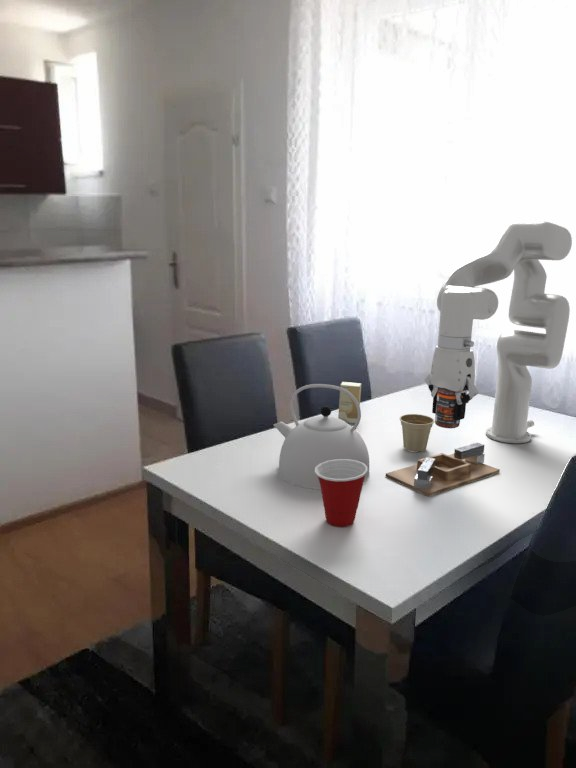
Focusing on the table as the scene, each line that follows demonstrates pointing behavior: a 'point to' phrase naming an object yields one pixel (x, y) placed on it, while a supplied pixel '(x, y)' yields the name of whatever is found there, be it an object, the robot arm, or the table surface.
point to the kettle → (318, 443)
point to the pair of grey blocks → (468, 453)
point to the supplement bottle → (446, 409)
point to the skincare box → (349, 402)
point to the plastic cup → (341, 489)
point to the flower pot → (416, 431)
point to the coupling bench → (443, 473)
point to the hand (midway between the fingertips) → (448, 415)
